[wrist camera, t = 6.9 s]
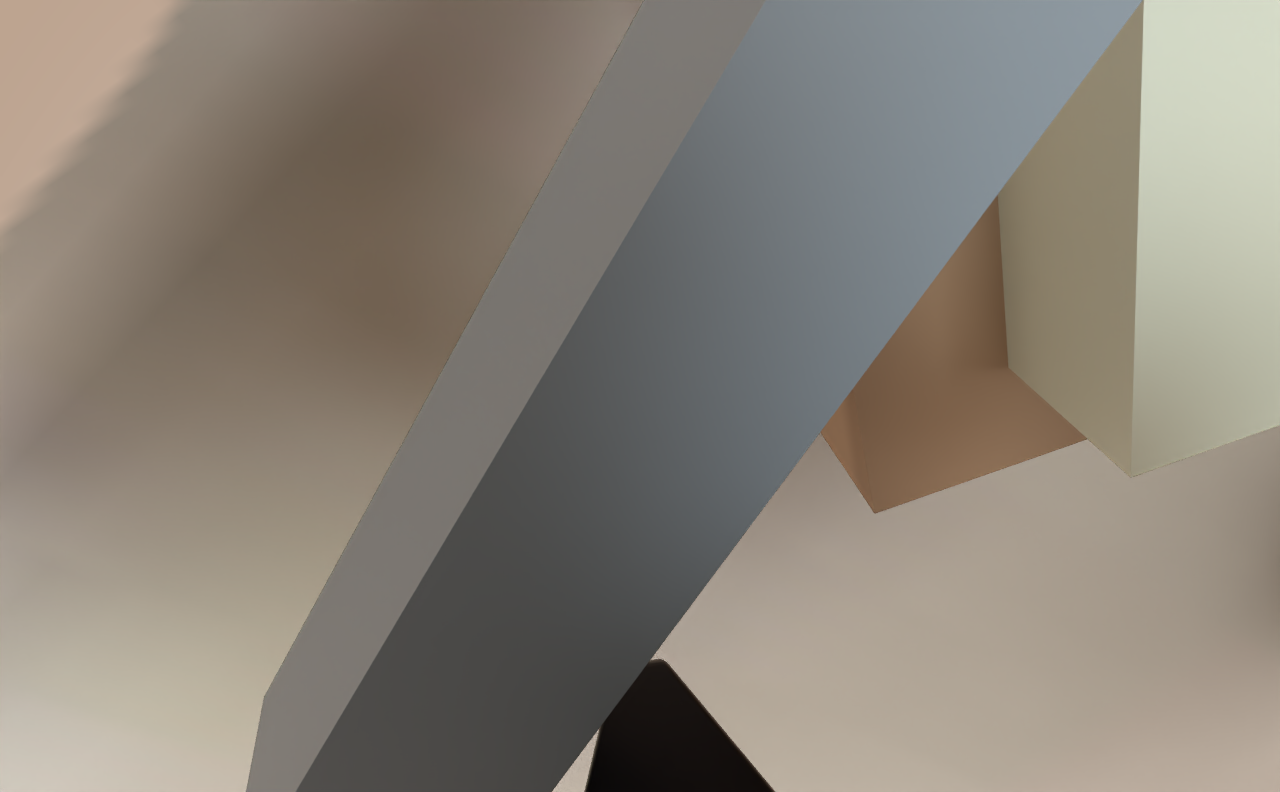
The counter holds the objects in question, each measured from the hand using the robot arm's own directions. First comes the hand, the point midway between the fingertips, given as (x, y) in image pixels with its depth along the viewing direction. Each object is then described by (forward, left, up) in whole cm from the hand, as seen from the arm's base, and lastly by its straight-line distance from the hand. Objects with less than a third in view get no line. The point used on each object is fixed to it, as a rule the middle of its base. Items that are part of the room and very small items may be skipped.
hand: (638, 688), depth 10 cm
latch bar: (-4, -7, -1) cm, 8 cm away
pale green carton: (-9, -2, -5) cm, 10 cm away
